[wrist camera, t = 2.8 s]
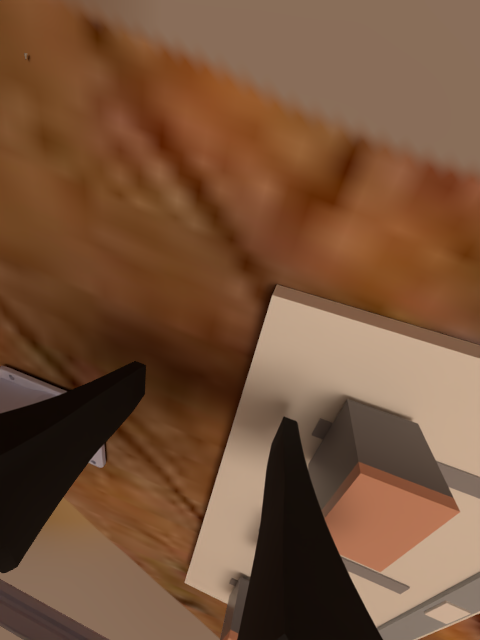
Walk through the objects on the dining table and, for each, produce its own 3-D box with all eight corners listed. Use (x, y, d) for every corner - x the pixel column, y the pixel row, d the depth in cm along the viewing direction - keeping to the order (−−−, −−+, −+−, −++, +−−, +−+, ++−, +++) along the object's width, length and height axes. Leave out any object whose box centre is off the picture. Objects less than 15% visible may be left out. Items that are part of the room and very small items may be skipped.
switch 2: (308, 464, 13) (306, 540, 10) (347, 398, 11) (360, 473, 8) (364, 486, 13) (380, 572, 10) (418, 423, 10) (460, 511, 7)
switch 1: (229, 595, 24) (217, 651, 21) (240, 577, 21) (228, 637, 18) (259, 609, 23) (251, 669, 20) (273, 592, 21) (267, 657, 18)
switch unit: (190, 564, 27) (183, 586, 26) (276, 284, 11) (270, 297, 10) (351, 642, 25) (354, 671, 23) (752, 426, 9) (848, 475, 7)
